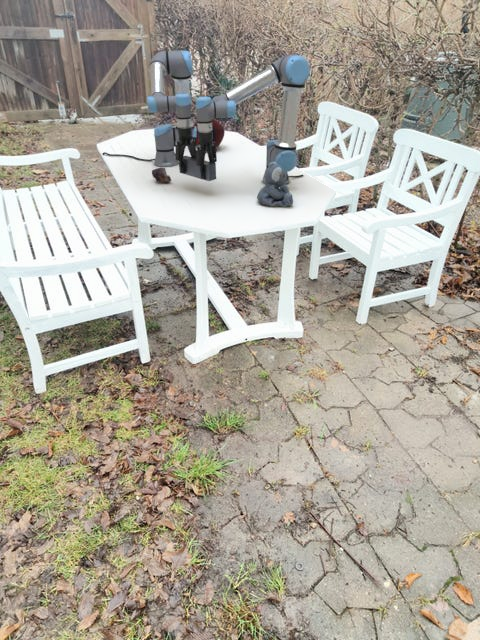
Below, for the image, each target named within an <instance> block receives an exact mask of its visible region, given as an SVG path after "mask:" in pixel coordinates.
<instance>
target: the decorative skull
mask: <svg viewBox="0 0 480 640" xmlns="http://www.w3.org/2000/svg"><path fill="white" fill-rule="evenodd" d="M194 126H196V128H197V121H196V122H195V123H194ZM198 132H199V131H197V132H196V138H197V139H196V144H197V146H198V145H199V140H198ZM212 132H213V139H212V142H216V143H217V144H216V149H217V148H218V147H219V146H220V145H221V144H222V141H223V140H224V137H225V128H224V126H223V125H222V124H221V123H220V122H219V121H217V120H216V118H212Z"/></svg>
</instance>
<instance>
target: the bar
mask: <svg viewBox="0 0 480 640" xmlns="http://www.w3.org/2000/svg"><path fill="white" fill-rule="evenodd" d="M183 161H184V167H185V174H183V173H181V171H180V167H179V166H178V171H179V174H183V175H186V176H190V177H193V178H197V179H200V180H203V181H207V182H212V181H215V180H217V162H215V163H213V162H209V160H204V167H205V176H206V179H205V180H204V179H201V173H200V167H199V166H197V165H196V158H193V157H191V156H189V155H184V156H183Z"/></svg>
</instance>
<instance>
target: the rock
mask: <svg viewBox="0 0 480 640" xmlns="http://www.w3.org/2000/svg"><path fill="white" fill-rule="evenodd" d="M151 175H152V177H153V179H154V180H155V181H156V182H157V183H170V182H172V177H171V176H170V175H168V174H167V170H166V167H161V166H159V167H157V168H154V169H152V170H151Z"/></svg>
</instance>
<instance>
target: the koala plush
mask: <svg viewBox="0 0 480 640" xmlns="http://www.w3.org/2000/svg"><path fill="white" fill-rule="evenodd" d="M288 176H289V175H288ZM288 176H287V175H286V174H285V171H284V170H283V169H282V167H281V166H280V165H277V164H276V163H275V162H272V163H269V167H268V171H267V174H266V184H264V186H263V187H262V188H260V190H259V191H258V193H257V196H256V200H257V201H258V203H260V204H263V205H264V206H267V207H281V208H282V207H285V208H286V207H291V206H292V205H293V204H294V196H293V193H291V192H290V190H289V187H288V184H285V185H284V183H285V182H286V181H287V180H288Z"/></svg>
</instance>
